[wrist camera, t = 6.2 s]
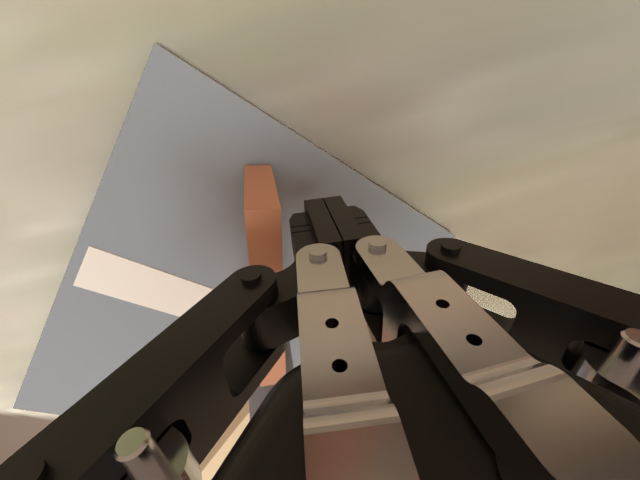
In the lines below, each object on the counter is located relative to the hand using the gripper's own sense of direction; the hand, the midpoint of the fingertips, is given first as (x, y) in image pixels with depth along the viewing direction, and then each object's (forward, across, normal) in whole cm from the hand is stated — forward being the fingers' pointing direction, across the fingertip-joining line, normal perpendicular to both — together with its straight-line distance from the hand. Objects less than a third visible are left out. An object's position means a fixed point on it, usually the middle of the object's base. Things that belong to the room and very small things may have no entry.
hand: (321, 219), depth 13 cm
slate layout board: (+4, +5, +8) cm, 10 cm away
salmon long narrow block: (+3, +3, +3) cm, 5 cm away
